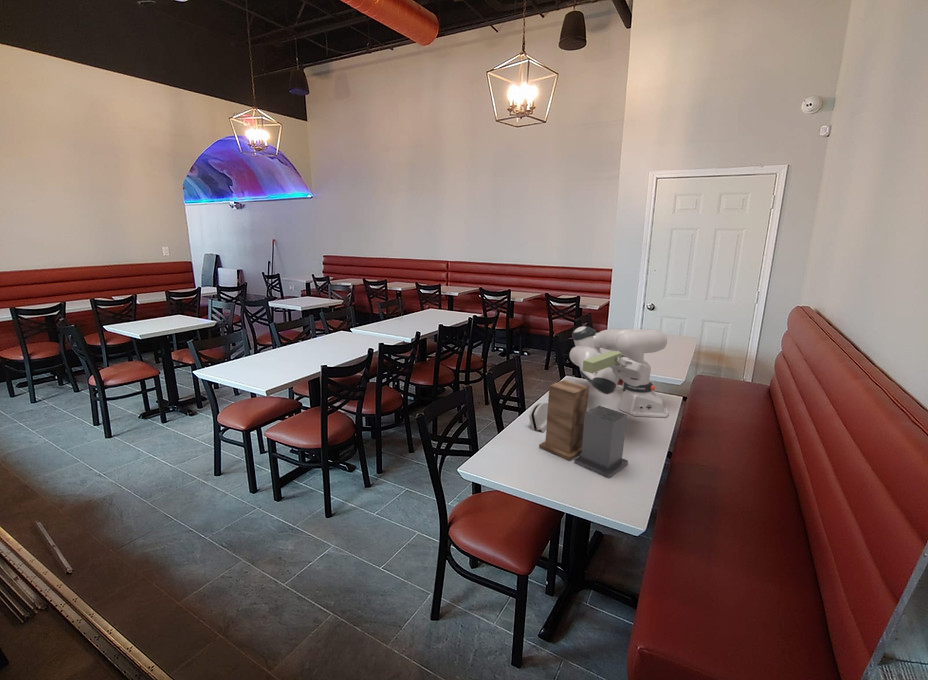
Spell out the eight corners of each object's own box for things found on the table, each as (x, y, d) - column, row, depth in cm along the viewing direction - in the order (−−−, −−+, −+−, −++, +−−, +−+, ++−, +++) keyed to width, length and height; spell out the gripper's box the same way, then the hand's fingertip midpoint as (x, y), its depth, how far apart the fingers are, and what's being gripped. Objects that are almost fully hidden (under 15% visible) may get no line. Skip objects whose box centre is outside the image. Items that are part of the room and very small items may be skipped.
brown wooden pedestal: (559, 436, 186) (563, 377, 179) (589, 448, 176) (595, 386, 170) (539, 447, 176) (542, 385, 170) (569, 461, 166) (574, 395, 160)
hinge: (542, 433, 189) (536, 410, 188) (532, 434, 192) (526, 411, 191) (556, 419, 203) (550, 398, 202) (546, 420, 205) (541, 399, 205)
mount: (593, 450, 175) (598, 403, 170) (627, 464, 165) (633, 414, 160) (574, 463, 165) (578, 413, 160) (608, 478, 155) (614, 425, 150)
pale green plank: (611, 360, 180) (612, 350, 179) (620, 362, 177) (621, 352, 176) (582, 370, 166) (583, 360, 165) (591, 373, 164) (592, 363, 163)
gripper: (604, 355, 192) (590, 344, 183) (650, 367, 178) (637, 356, 168) (598, 369, 192) (584, 358, 182) (644, 381, 177) (632, 371, 168)
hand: (610, 357), depth 175 cm, fingers closed on pale green plank, 4 cm apart
